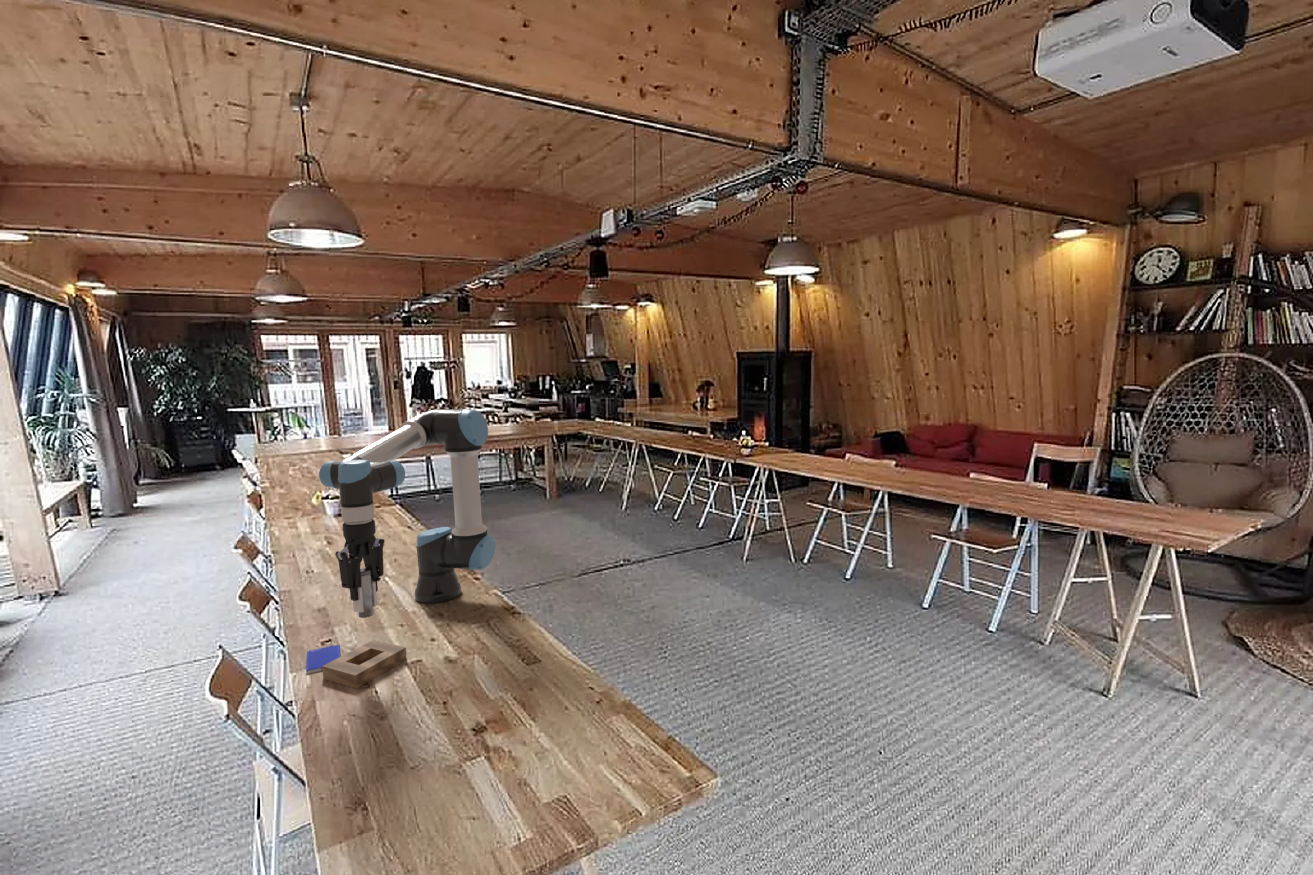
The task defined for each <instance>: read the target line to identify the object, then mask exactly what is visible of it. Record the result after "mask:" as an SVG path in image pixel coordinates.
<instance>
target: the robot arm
mask: <svg viewBox="0 0 1313 875" xmlns="http://www.w3.org/2000/svg"><path fill="white" fill-rule="evenodd" d="M488 436H489V427H488V423H487V419H486V417H485V416H484V415H483V414H482V413H481V411H478V410H475V409H468V408H452V409H451V408H450V409H449V408H447V409H445V408H443V409H442V408H435V409H431V410H428V411H424V412H422V413H420V414H418V415H415V416H414V417H411V418H409V419H408V420H405V421H403V422H402V423H401V425H400V427H399V428H398V429H396V430H394V431H392V432H390V433H389V434H386V435H385V436H383V437H381V438H379V439H377V440H376V441H374V442H372V443H370V444H369V445H367V446H365V447H363V448H362V449H359V450H358V451H356V452H353V453H352V454H350V455H349V456H347V457H345V458H343V459H341V460H329V461H326V462H323V464H322V465H321V466H320V468H319V471H318V472H319V473H318V477H319V481H320V483H321V484H322V485H323V487H325V488H329V489H335V490H337V489H339V497H340V511H341V520H342V522H343V523H342V534H343V538H344V540H345V543H344V546H343V548H342V549H341V550H338V551H336V552H335V554H334V555H335V557H336V559H337V560H338V567H339V574H340V575H339V576H340V581H341V587H342V588H344V589H349V595H350V601H352V605H353V612H356V613H358V612H360V613H362V612H364V607H363V595H362V587H359V579H360V569H361V565H362V564H361V563H362V561H363V564H364V568H369V569H371V583H372V596H373V607H377V606H378V601H377V600H378V596H377V592H378V590H379V588H378V587H379V586H378V582H380V581H381V577H383V576H384V573H385V572H384V546H385V545H384V544H385V539H384V538H379V537H378V538H377V537H376V536H375V534H376V532H377V530H376V529H377V528H376V520H374V518H375V506H374V494H377V493H380V492H385V491H387V490H392V489H394V488H396V487H399V486H400V485H402V484H403V483H404V481H405V478H406V470H405V467H404V466H403V464H402V463H401V462H400V461H397V459H399V458H400V457H403V456H404V455H405V454H407V453H409V452H410V451H412V450H413V449H414V450H417V449H421V448H422V447H425V446H429V445H444V452H445V453H446V454H447V455H448V456H449V457H450V468H451V469H450V470H451V482H452V483H451V484H452V495H453V509H454V522H455V523H454V524H455V526H454V528H452V527H449V526H440V527H436V528H431V529H428V530H427V529H426V530H423V532H420V533H419V534H418V535H417V537H416V547H415V548H416V556H417V566H418V578H417V582H416V587H415V590H414V600H415V601H416V602H419V603H424V604H436V603H442V602H446V601H447V602H448V601H450V600H453V599H455V598H457V597H458V595H459V596H460V595H461V594H462V585H461V582H460V581H459V579H458V575H457V574H456V571H455V569H459V570H460V569H462V570H470V571H482V570H485V569H486V568H487V567H488V566H489V565H490V564H491V563H492V560H493V559H494V556H495V552H496V546H497V545H496V539H495V538H494V536H492V535H491V534H488V527H487V526H486V525H485V524H484V523H483V516H482V514H483V513H482V502H481V500H482V499H481V489H480V488H481V487H480V486H481V484H480V474H479V459H478V458H479V456H478V454H479V452H481V450H483V449H482V448H483V447H482V446H483V445H484V444H485V443H486V442H487V439H488Z"/></svg>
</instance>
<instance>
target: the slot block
mask: <svg viewBox="0 0 1313 875" xmlns="http://www.w3.org/2000/svg"><path fill="white" fill-rule="evenodd" d="M407 659H408V658H407V648H406V646H401V645H397V644H393V643H389V642H385V641H380V640H377V639H372V640H371V641H369V642H367V643H365V644H363V645H361V646H359V647H357V648H355V649H353V650H350V651H349V652H347V653H345V654H343V655H342V656H341V657H339V658H337V659H335V660H333V661H331V662H329V663H327V664H325V665H323V666H322V679H323V680H326V681H328V682H332V683H336V684H339V685H343V686H346V687H350V688H354V689H359V688H360V687H361V686H364V685H365V684H367V683H369V682H370V681H372V680H374V679H376V678H377V677H379V676H381V675H382V674H385V673H386V672H388V671H389V670H391V669H393V668H394V667H396V666H398V665H400V664H402V663H403V662H404V661H406V660H407Z"/></svg>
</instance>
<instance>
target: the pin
mask: <svg viewBox="0 0 1313 875" xmlns="http://www.w3.org/2000/svg"><path fill="white" fill-rule="evenodd" d="M359 587H362V595H363V607H364V612H362V613H360V612H357V613H358V617H359V618H362V619H366V618H370V617H373V615H374V614H375V609H374V606H373V596H372V583H371V569H369V568H365V567H364V568H363V567H362V568H360V579H359Z"/></svg>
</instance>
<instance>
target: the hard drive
mask: <svg viewBox="0 0 1313 875" xmlns="http://www.w3.org/2000/svg"><path fill="white" fill-rule="evenodd" d="M339 657H341V645H340V644H335V645H329V646H324V647H320V648H316V649H315V648H314V649H312V650H307V651H306V663H305V664H306V665H305V674H306V675H307V674H308V673H309V674H313V673H317V672H321V671H322V672H323V670H322V666H323V665H325V664H327V663H329V662H331V661H333V660H335V659H337V658H339Z"/></svg>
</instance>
